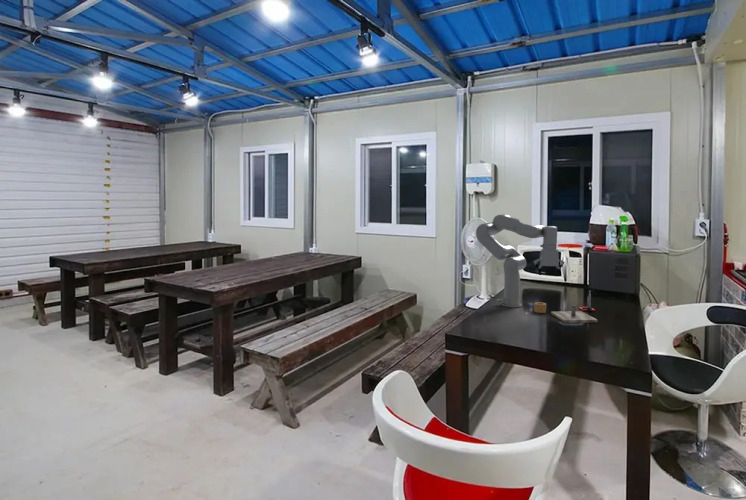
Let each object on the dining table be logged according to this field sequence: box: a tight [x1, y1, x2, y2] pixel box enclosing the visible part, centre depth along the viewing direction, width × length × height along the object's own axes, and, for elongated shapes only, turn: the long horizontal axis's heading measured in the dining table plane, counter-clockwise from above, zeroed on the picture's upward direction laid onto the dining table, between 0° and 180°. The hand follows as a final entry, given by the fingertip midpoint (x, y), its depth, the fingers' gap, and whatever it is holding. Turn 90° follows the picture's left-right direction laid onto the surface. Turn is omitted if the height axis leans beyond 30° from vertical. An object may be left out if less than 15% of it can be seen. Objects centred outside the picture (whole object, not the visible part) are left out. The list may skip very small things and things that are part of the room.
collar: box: [533, 301, 547, 314], centre depth 257 cm, size 6×6×5 cm
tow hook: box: [578, 290, 596, 313], centre depth 260 cm, size 8×13×9 cm
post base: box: [550, 304, 598, 324], centre depth 243 cm, size 18×18×8 cm
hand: (548, 275), depth 254 cm, fingers open, 9 cm apart
